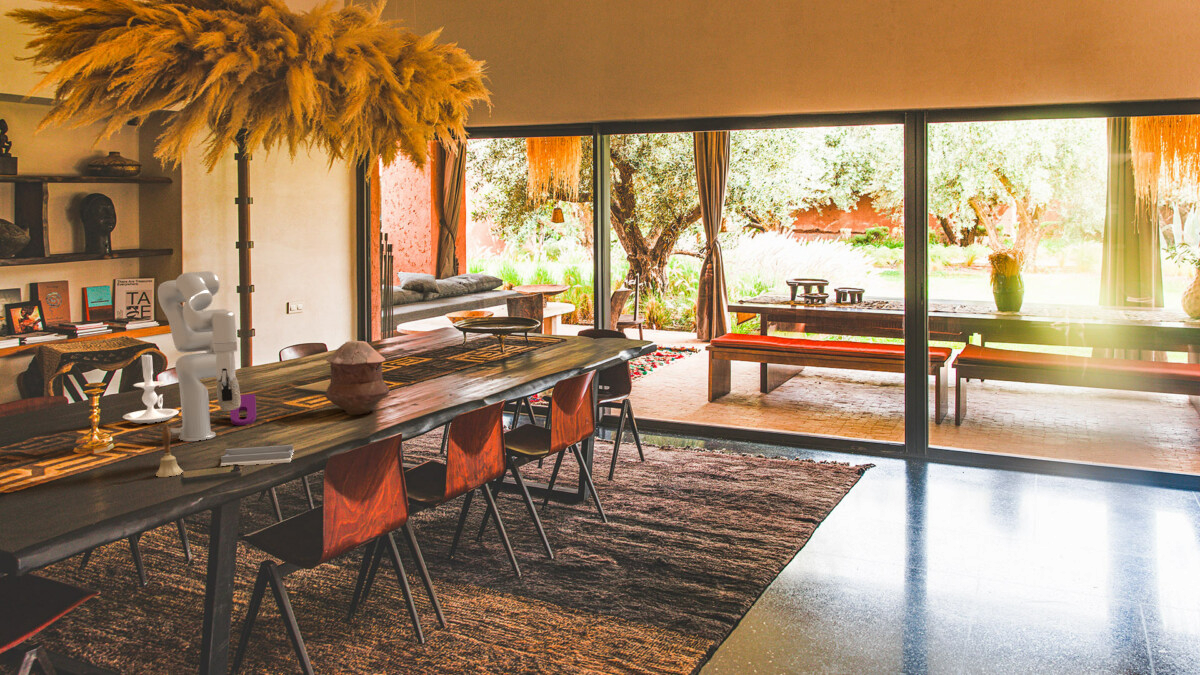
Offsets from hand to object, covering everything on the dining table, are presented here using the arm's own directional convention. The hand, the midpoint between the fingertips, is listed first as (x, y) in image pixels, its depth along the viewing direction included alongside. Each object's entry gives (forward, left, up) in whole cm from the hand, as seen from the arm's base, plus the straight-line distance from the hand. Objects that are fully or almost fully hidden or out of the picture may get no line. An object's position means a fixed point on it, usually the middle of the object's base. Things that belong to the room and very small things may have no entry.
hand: (228, 398), depth 323 cm
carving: (0, 0, -4) cm, 4 cm away
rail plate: (+10, -9, -20) cm, 24 cm away
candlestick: (-39, +67, -20) cm, 80 cm away
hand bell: (-16, -20, -20) cm, 33 cm away
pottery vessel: (+42, +60, -20) cm, 75 cm away
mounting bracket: (-3, +55, -20) cm, 59 cm away
